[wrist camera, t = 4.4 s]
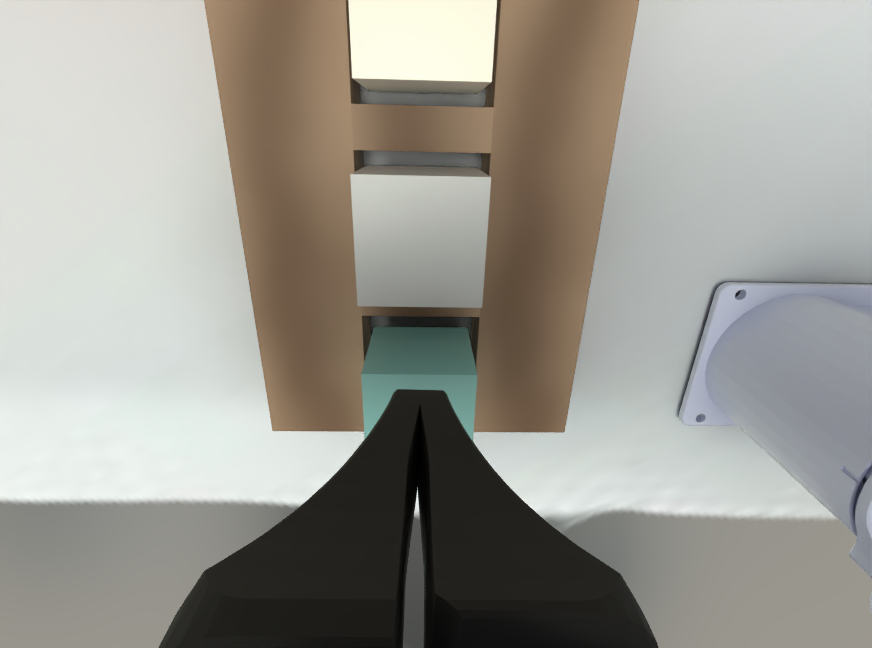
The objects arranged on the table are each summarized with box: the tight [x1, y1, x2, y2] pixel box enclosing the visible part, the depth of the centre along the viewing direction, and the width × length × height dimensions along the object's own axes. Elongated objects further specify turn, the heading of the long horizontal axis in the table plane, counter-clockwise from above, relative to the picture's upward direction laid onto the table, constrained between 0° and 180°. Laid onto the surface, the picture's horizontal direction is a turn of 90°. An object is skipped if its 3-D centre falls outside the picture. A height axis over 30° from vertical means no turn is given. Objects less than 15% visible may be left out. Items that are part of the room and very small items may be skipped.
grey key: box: [350, 165, 491, 308], centre depth 15 cm, size 4×4×4 cm
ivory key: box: [348, 0, 497, 94], centre depth 13 cm, size 4×4×4 cm
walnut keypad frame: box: [204, 0, 639, 432], centre depth 18 cm, size 14×20×2 cm
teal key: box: [361, 327, 477, 441], centre depth 17 cm, size 4×4×4 cm
